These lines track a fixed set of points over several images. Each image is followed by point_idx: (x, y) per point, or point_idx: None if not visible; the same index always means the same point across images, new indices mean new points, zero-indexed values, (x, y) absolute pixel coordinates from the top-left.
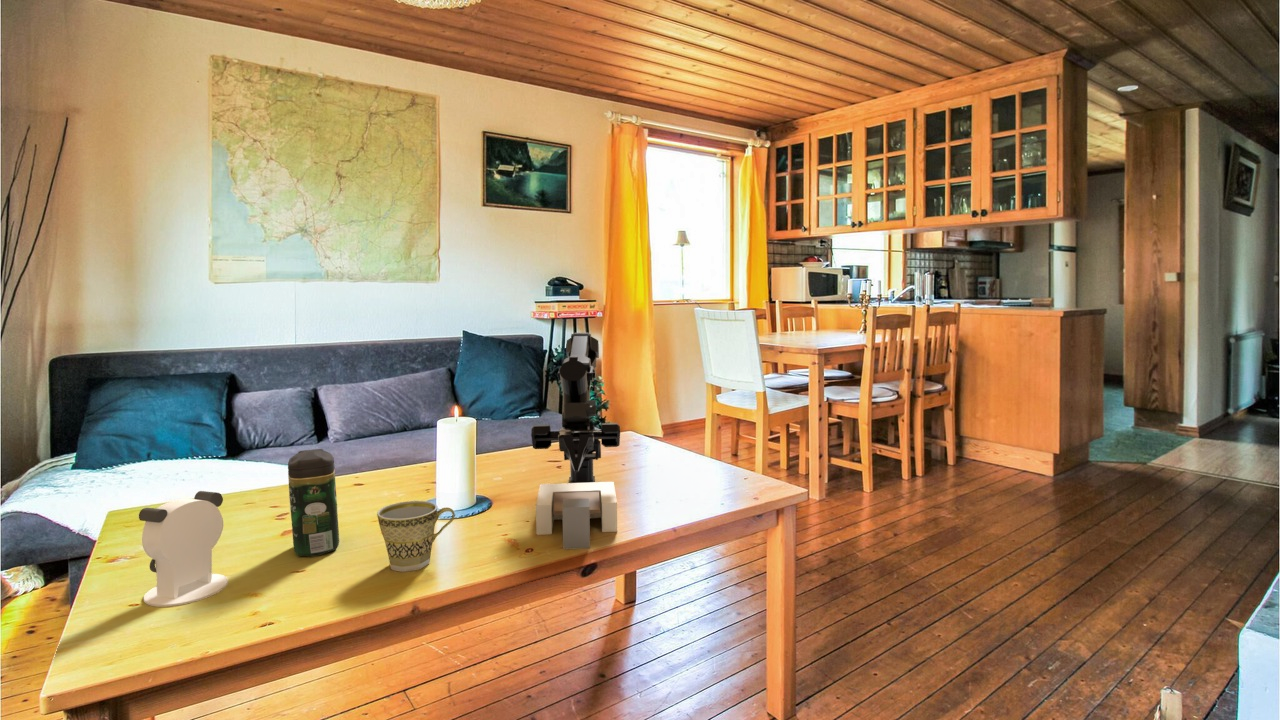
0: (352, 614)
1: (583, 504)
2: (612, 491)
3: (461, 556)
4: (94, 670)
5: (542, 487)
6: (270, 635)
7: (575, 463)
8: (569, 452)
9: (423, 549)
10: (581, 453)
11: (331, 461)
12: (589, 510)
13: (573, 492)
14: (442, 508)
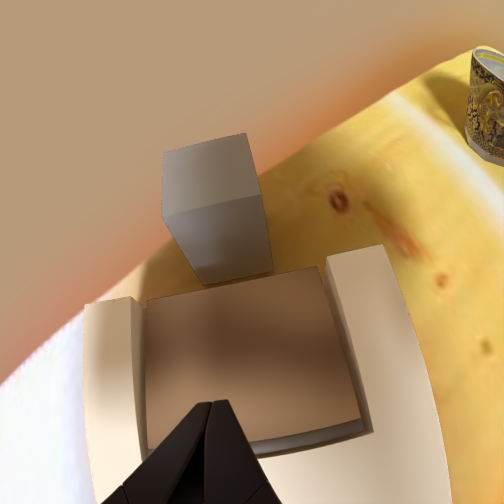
0: (432, 68)
1: (181, 163)
2: (95, 440)
3: (447, 168)
4: None
5: (437, 481)
6: (456, 57)
7: (212, 424)
8: (273, 500)
9: (468, 108)
10: (128, 488)
11: None
12: (183, 295)
13: (268, 440)
14: (495, 87)
